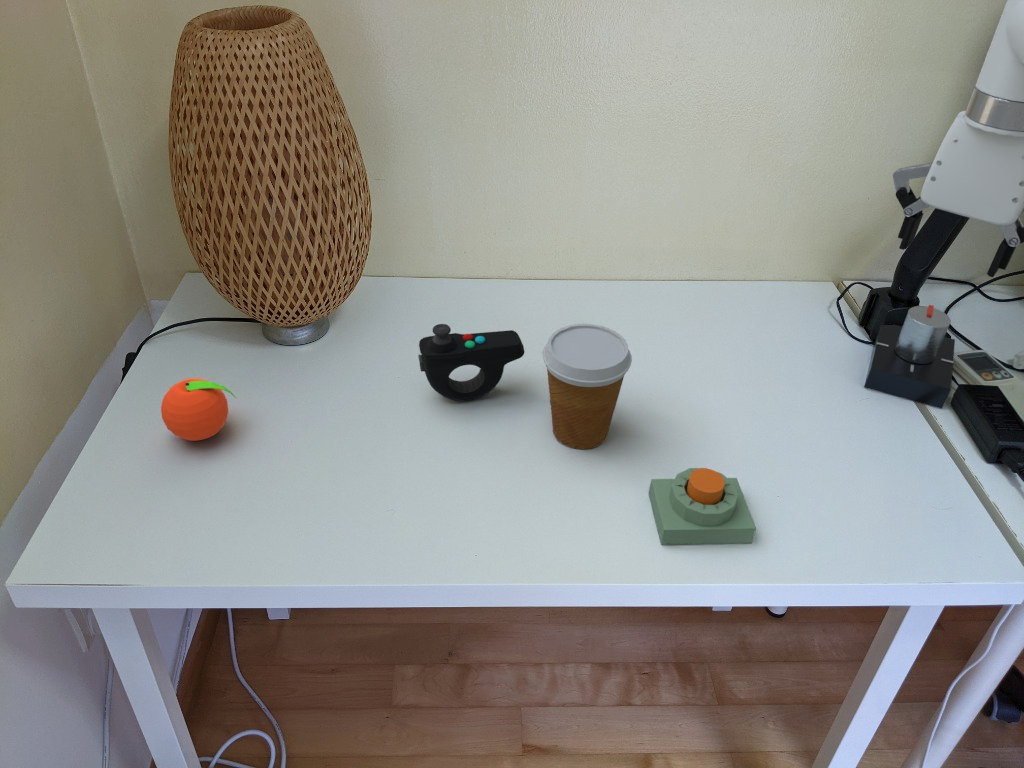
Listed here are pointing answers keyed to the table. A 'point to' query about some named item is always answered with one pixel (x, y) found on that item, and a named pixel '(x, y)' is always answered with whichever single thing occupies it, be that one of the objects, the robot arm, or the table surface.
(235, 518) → the table surface
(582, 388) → the disposable coffee cup
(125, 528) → the table surface
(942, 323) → the dial
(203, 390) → the clementine
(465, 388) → the controller
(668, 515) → the box
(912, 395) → the dial panel
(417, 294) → the table surface
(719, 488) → the button
